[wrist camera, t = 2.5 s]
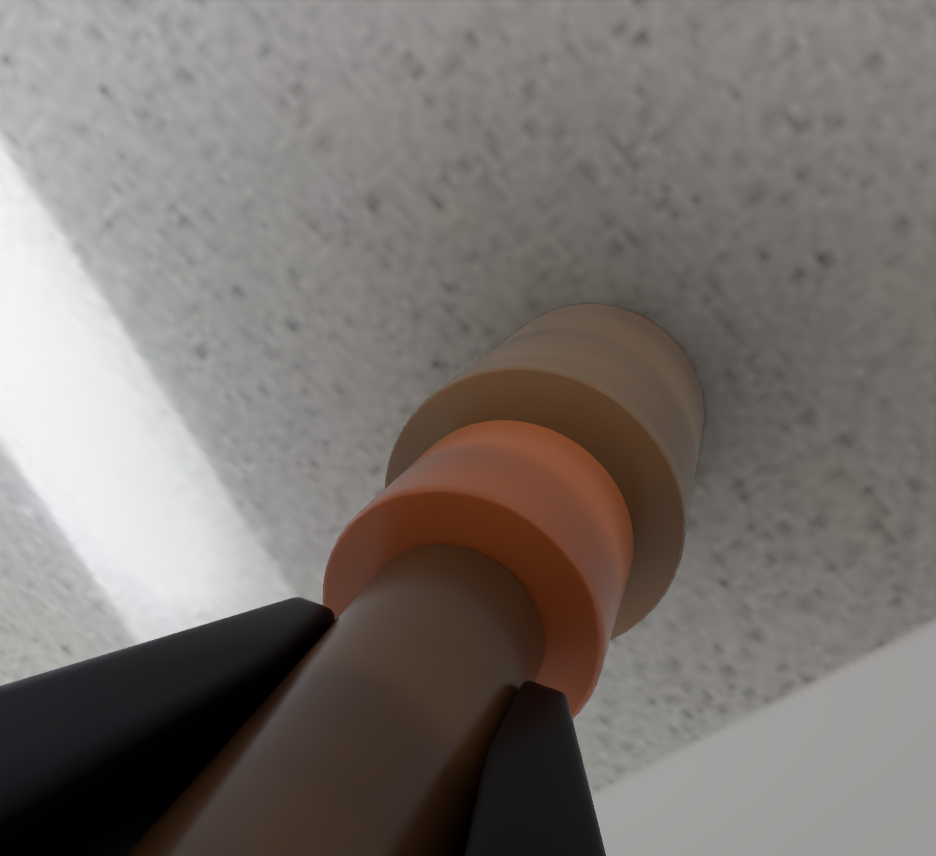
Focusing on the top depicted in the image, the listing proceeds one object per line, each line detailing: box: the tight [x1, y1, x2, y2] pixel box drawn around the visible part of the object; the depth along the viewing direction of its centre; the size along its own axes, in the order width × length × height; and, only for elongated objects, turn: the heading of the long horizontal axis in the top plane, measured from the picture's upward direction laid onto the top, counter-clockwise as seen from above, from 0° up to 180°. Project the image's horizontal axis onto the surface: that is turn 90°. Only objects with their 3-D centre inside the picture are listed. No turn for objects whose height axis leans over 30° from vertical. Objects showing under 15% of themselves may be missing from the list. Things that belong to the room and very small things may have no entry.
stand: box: [385, 304, 705, 640], centre depth 15 cm, size 4×4×6 cm
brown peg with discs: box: [126, 420, 634, 856], centre depth 8 cm, size 3×3×8 cm
